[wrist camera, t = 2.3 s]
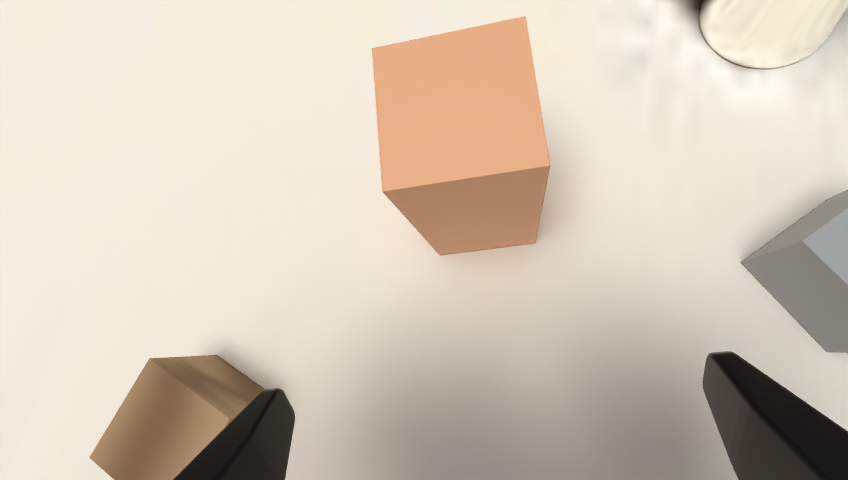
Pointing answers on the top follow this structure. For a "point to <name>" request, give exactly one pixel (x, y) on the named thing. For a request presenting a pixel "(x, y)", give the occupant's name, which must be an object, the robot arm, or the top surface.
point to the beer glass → (768, 29)
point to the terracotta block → (463, 136)
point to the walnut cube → (172, 416)
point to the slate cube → (811, 272)
